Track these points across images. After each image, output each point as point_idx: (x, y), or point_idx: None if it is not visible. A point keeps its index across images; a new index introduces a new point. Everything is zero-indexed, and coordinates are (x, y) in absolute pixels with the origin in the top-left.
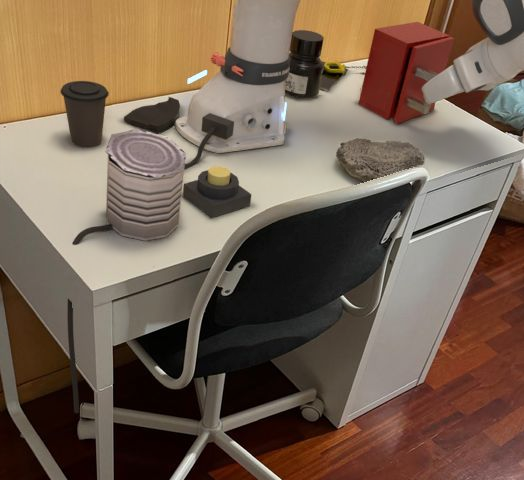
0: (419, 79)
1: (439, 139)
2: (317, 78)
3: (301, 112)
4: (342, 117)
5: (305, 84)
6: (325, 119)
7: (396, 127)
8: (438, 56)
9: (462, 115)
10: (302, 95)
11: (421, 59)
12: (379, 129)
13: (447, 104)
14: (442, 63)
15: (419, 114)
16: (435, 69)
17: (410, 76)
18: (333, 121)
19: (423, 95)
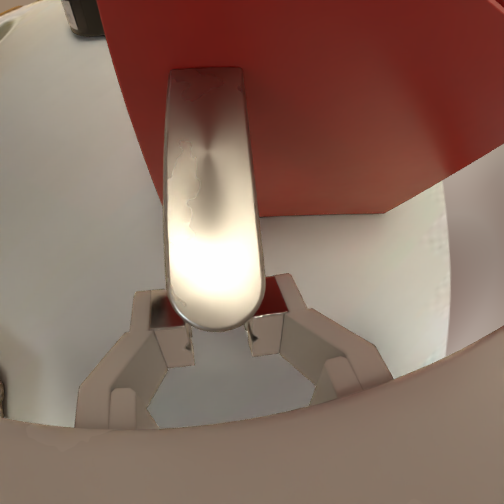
0: (277, 137)
1: (225, 384)
2: (95, 1)
3: (25, 81)
4: (65, 121)
5: (71, 13)
6: (26, 119)
7: (148, 238)
8: (472, 94)
9: (439, 279)
10: (76, 31)
11: (255, 24)
12: (83, 222)
13: (444, 208)
14: (479, 135)
15: (311, 213)
16: (429, 136)
17: (142, 117)
18: (29, 133)
19: (137, 293)
